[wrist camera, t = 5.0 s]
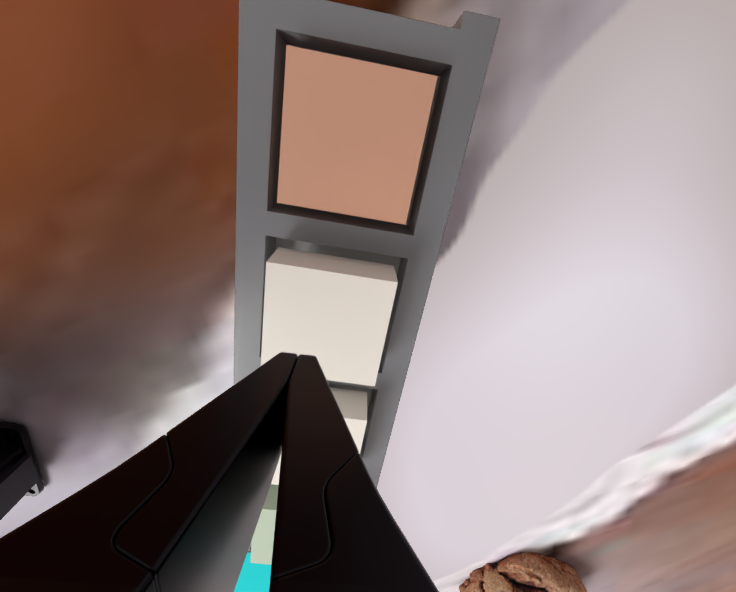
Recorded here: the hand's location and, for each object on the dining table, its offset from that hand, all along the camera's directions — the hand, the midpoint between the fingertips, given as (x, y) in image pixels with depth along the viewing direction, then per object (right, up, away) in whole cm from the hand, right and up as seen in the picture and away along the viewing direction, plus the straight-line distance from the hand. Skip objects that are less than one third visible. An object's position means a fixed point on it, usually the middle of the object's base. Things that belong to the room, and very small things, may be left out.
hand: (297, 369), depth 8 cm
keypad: (-1, -1, +12) cm, 12 cm away
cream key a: (0, +1, +8) cm, 8 cm away
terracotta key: (+1, +8, +6) cm, 10 cm away
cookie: (+15, -24, +23) cm, 37 cm away
